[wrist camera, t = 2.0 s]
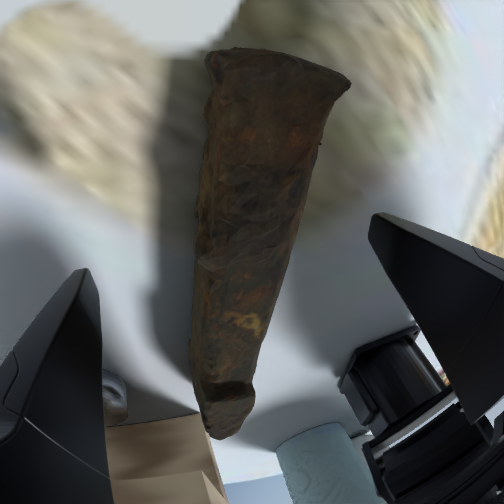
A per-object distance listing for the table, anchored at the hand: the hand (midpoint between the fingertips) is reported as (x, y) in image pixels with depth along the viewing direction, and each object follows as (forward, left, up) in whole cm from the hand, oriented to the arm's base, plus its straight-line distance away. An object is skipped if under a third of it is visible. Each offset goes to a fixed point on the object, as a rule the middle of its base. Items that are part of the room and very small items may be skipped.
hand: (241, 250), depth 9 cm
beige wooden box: (+9, +14, -3) cm, 17 cm away
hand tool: (0, +4, -4) cm, 6 cm away
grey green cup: (-8, +32, -4) cm, 34 cm away
